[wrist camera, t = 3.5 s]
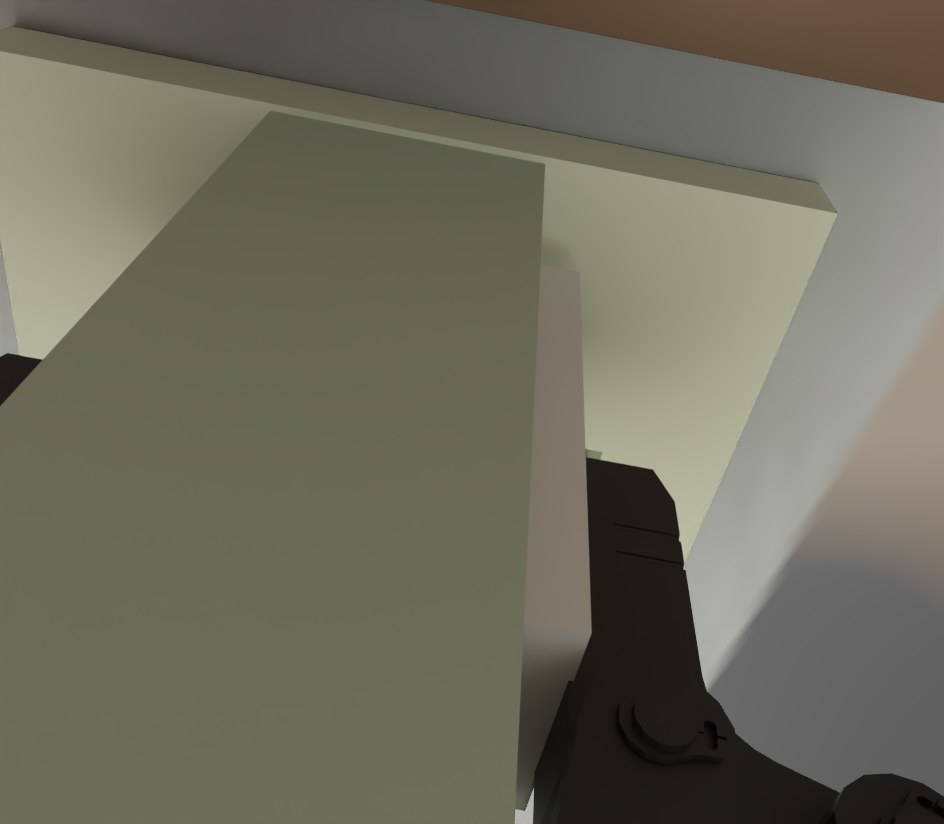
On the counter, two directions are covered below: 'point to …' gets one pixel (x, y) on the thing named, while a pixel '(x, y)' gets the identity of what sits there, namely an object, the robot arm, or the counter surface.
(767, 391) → the counter surface
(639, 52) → the counter surface
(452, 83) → the counter surface
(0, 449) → the pale green post stand
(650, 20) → the board
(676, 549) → the robot arm
